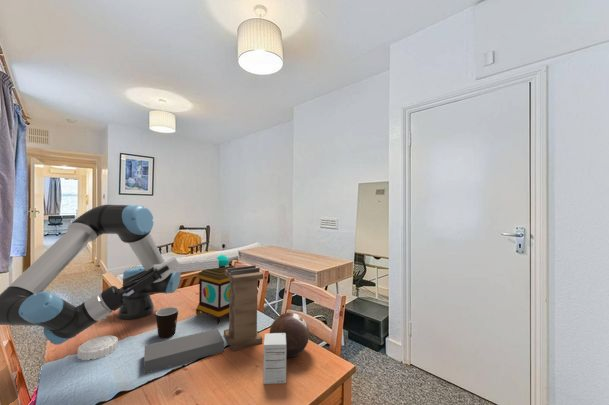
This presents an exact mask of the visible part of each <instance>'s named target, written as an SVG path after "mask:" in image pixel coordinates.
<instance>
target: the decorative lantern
mask: <svg viewBox="0 0 609 405" xmlns="http://www.w3.org/2000/svg"><path fill="white" fill-rule="evenodd" d="M215 259H218V260H219V268H214V269H205V270H200V271H199V272H198V273H197V274H196V275H197V278H198V279H199V288H198V289H199V295H198V296H199V297H198V298H199V300H198V305H197V306H196V309H195V314H196V316H199V315H200V314H201V313H204V314H206V315H209V316H211V317H213V318H216V321H217V322H216V323H217V324H219V323H220V324H221V321H222V318H223V317H225V316H227V315H229V295H230V279H229V278H228V277H227V276H226V275H225V270H226V269H227V268H235V267H236V266H234V265H233V264H232V263H230V261H229V260H230V259H229V258H228V257H227V256H226V255H224V254H219V255H218V256H217V257H216V258H215Z"/></svg>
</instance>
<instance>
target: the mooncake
mask: <svg viewBox="0 0 609 405" xmlns="http://www.w3.org/2000/svg"><path fill="white" fill-rule="evenodd" d="M118 348H119V338H118V337H117V336H115V335H104V336H103V335H101V336H96V337H94V338H90V339H89V340H87V341H84V342H83V343H82V344H80V346H78V347H77V358H78V357H79V358H78V360H79V359H82V360H81V361H83V360H84V361H87V360H89V361H91V360H90V359H95V360H97V359H101V358H100V357H102V358H103V357H106V356H105V355H107V356H109V355H110V354H113V352H115V351H116V350H117V349H118ZM114 350H115V351H114ZM109 353H110V354H109ZM108 354H109V355H108ZM96 358H97V359H96Z"/></svg>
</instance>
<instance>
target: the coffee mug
mask: <svg viewBox="0 0 609 405" xmlns="http://www.w3.org/2000/svg"><path fill="white" fill-rule="evenodd" d="M178 316H179V308H178V307H174V306H171V307H170V306H168V307H164V308H163V307H162V308H160V309H158V310H157V311H156V312H155V318H156V320H155V321H156V327H157V336H158V338H159V339H164V338H165V339H169V338H172V337H173V336H175V335H174V334H176V330H177V323H178Z"/></svg>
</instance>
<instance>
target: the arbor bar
mask: <svg viewBox="0 0 609 405" xmlns="http://www.w3.org/2000/svg"><path fill="white" fill-rule="evenodd" d="M178 263H179V265H177V266H176V267H174V268H173V269H171V270H169V271H168V272H166V273H164V274H169V273H178V272H180V273H185V272H194V271H196V272H197V271H202V270H205V269H214V268H219V260H218V259H216V258H214V259H213V258H212V259H210V258H209V259H201V260H189V261H181V262H179V261H178ZM162 265H164V264H157V265H154V271H155V270H157V268H159V267H161V266H162ZM157 271H158V270H157Z"/></svg>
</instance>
